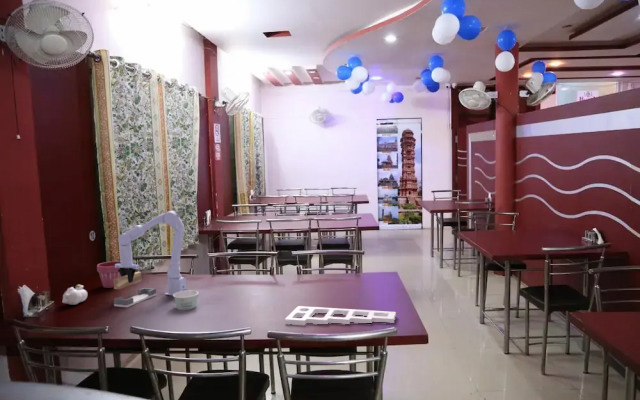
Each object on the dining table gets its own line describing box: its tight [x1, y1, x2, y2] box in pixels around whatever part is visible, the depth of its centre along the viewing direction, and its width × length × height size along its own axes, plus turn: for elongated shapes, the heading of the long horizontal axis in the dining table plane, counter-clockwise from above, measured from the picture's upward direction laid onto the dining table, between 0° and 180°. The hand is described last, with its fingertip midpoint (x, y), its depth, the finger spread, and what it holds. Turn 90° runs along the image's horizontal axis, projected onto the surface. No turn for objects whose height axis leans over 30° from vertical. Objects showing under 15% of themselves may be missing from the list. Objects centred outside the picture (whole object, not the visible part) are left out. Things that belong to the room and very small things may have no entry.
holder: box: [284, 305, 397, 326], centre depth 203 cm, size 45×18×3 cm, turn 74°
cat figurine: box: [61, 284, 88, 306], centre depth 238 cm, size 10×8×15 cm
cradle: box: [113, 287, 157, 308], centre depth 240 cm, size 8×21×4 cm, turn 159°
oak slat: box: [113, 271, 143, 290], centre depth 245 cm, size 3×16×5 cm, turn 158°
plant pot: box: [96, 260, 121, 289], centre depth 270 cm, size 14×14×13 cm
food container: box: [172, 289, 200, 311], centre depth 227 cm, size 12×12×6 cm
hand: (128, 281), depth 245 cm, fingers closed on oak slat, 3 cm apart
